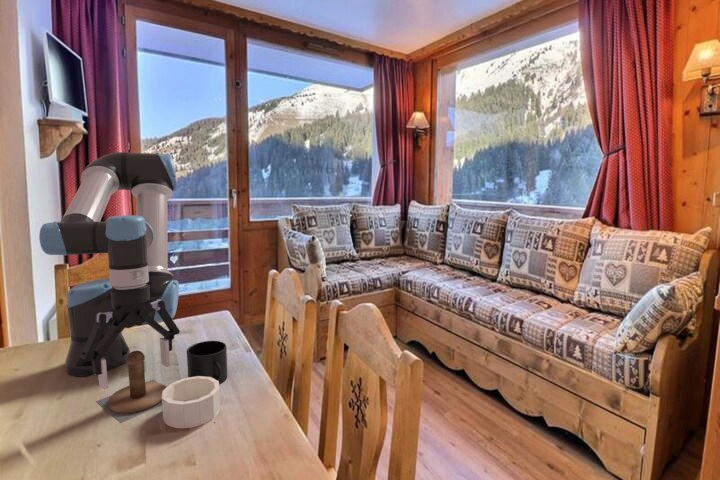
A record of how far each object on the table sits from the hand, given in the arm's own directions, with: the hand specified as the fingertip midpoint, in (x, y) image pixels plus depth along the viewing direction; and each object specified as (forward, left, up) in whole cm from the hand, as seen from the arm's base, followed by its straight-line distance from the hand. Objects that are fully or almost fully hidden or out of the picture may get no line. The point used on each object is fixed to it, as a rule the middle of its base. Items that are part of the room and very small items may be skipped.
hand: (136, 375), depth 92 cm
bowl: (+14, +5, -7) cm, 17 cm away
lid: (0, 0, -6) cm, 6 cm away
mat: (0, 0, -7) cm, 7 cm away
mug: (+5, +16, -7) cm, 18 cm away
